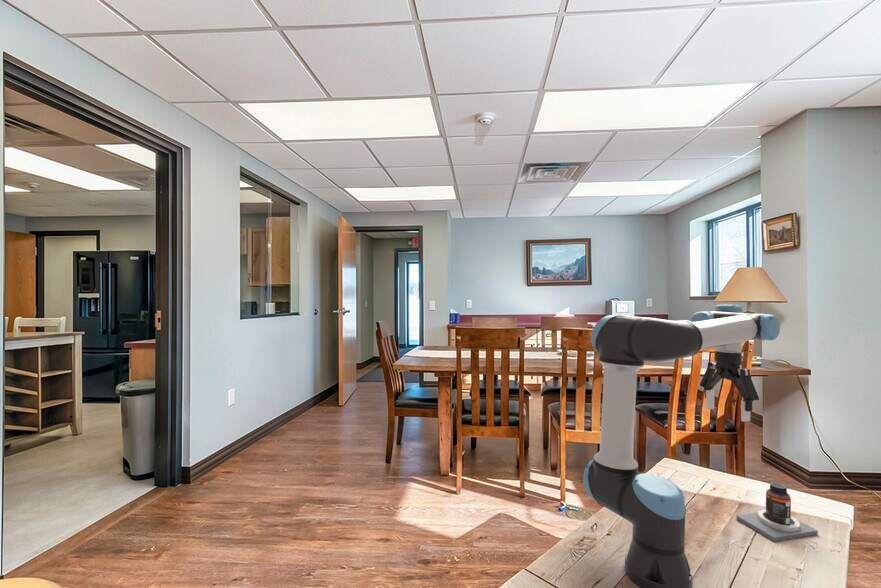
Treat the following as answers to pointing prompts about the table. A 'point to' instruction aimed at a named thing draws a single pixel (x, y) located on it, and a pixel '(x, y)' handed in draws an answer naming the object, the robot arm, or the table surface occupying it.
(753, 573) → the table surface
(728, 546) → the table surface
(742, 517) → the hub board
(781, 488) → the supplement bottle
